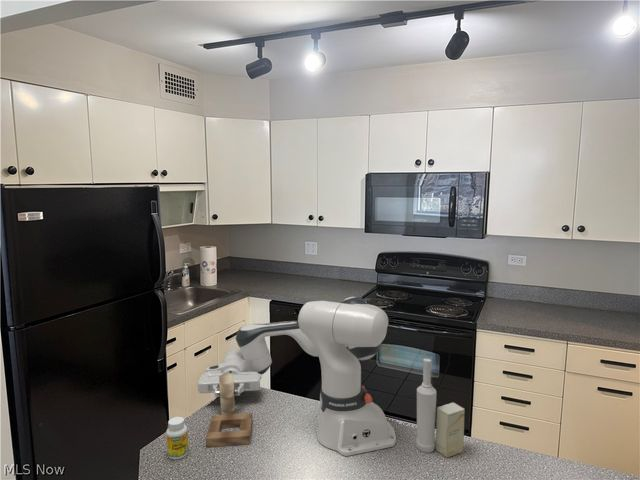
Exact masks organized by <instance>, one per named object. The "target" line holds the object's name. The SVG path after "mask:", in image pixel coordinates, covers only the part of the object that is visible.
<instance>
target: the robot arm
mask: <svg viewBox="0 0 640 480" xmlns="http://www.w3.org/2000/svg"><path fill="white" fill-rule="evenodd" d="M388 326H389V317H388V315H387V313H386V312H385V310H383V309H382V308H380V307H378V306H376V305H373V304H369V303H368V302H366V300H365V299H363V298H362V297H360V296H350V297H347V298H344V299H343V300H342V301H341V302H336V301H330V300H329V301H328V300H313V301H307V302H306V303H305V304H303V305H302V307H301V309H300V310H299V313H298V316H297V320H288V321H287V320H286V321H278V322H268V323H251V324H250V323H248V324H246V325H243V326H241V327H240V328H239V329H237V332H236V336H235V341H236V344H237V345H238V347H237V348H236V347H235V348H231V349H230V350H229V351H228V352H227V353H226V354H225V355H224V357H223V358H222V359H223V360H222V362H221V363H220V364H217V365H212V366H209V367H206V368H205V372H203V373H202V374H201V376H200V378H199V379H198V382H197V392H198V393H199V394H214V398H217V397H219V398H220V386H219V376H220V375H222V374H225V373H230V374H233V380H234V397H235V396H237V397H238V396H239V397H240V396H241V394H242V393H243V392H248V391H249V392H250V391H258V390H260V389H261V379H262V376H263V375H264V374H265V373H266V372H267V371H268V370H269V369H270V368H271V366H272V364H273V360H272V357H271V353H270V350H269V347H268V344H267V340H266V337H273V336H274V337H276V336H282V335H283V336H284V335H286V336H290V337H291V338H293V339H294V340H295V341H296V342H297V343H298V345H299V346H300V347H301V349H302V350H303V351H304V352H305V353H307V354H308V355H310V356H312V357H318V358H319V363H320V370H321V387H320V393H319V407H320V419H319V425H318V428H317V431H316V438H317V441H318V442H319V444H321V445H322V446H324V447H325V448H328V449H329V450H334V451H335V452H337V453H339V454H340V455H342V456H344V457H347V456H354V455H358V454H364V453H368V452H372V451H373V452H374V451H378V450H383V449H387V448H392V447H394V446H395V445H396V443H397V437H396V434H397V433H396V431H395V429H394V427H393V425H392V424H391V422H389V421H388V420H387V417H386V415H385V413H384V411H383V409H382V408H381V407H380V406H379V405H378V404H376V403H375V402H373V397H372V396H371V394H369V392H368V390H367V388H365V386H364V385H363V384H362V367H361V363H360V361H366V360H367V361H368V360H369V359H372V358H373V357H374V356H375V355H377V353H378V352H379V350H380V347H379V346H380V345H381V343H383V341H384V340H385V338H386V335H387V331H388Z"/></svg>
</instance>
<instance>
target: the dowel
mask: <svg viewBox="0 0 640 480" xmlns="http://www.w3.org/2000/svg"><path fill="white" fill-rule="evenodd" d="M219 386H220V397H219V400H220V415H230V414H236V400H235V392H234V380H233V374H230V373H225V374H222V375H220V376H219Z"/></svg>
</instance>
